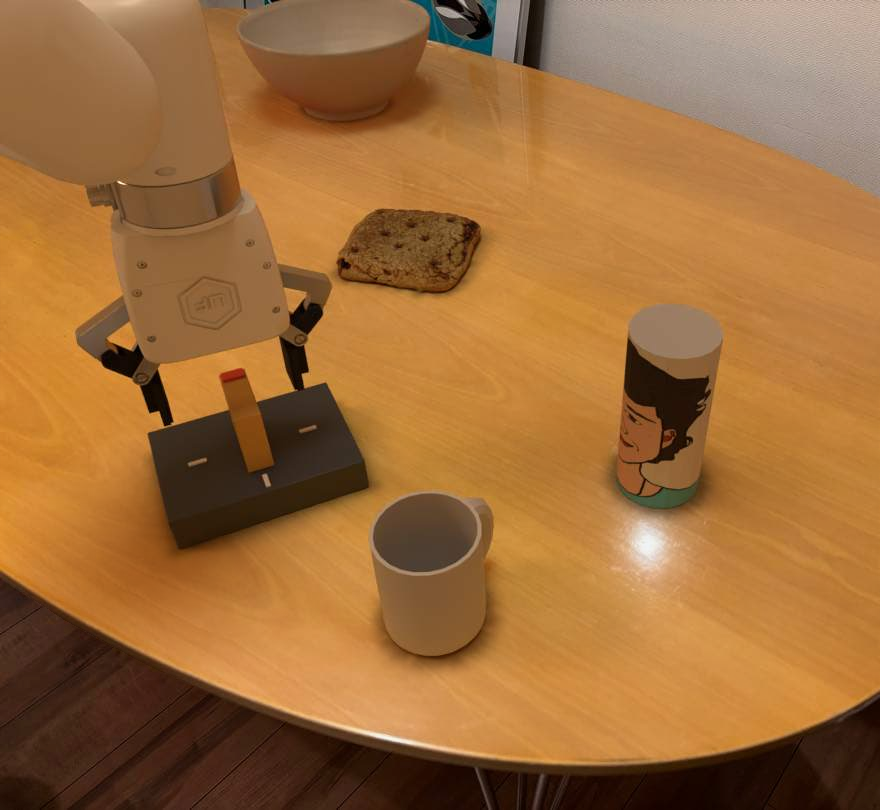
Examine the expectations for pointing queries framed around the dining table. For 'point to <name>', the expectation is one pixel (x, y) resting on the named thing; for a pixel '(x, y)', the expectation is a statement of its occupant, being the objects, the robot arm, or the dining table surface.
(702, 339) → the printed cylinder
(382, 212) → the pastry
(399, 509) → the cup
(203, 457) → the plate
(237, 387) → the red-cornered brown block
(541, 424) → the dining table surface
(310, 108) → the decorative bowl
